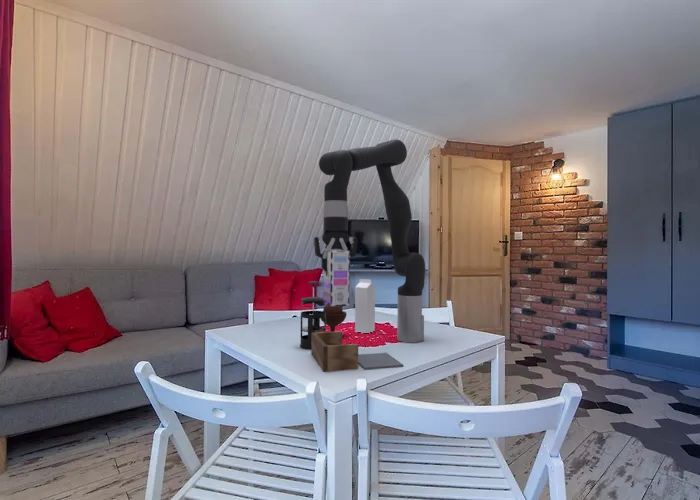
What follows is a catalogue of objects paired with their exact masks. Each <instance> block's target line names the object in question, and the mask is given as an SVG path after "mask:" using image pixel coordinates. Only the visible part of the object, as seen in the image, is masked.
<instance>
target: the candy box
mask: <svg viewBox="0 0 700 500" xmlns="http://www.w3.org/2000/svg"><path fill="white" fill-rule="evenodd" d="M349 253H350V250H348V251H343V250H341V249H331V250H330V251H328V255H327V257H326V259H327V271H324V270H323V269H322V270H323V273H322V274H323V279H322V281H323V298H324V302H325V304H326V305H327V304H329V305H330V306H343V307H350V268H349Z"/></svg>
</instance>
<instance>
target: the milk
mask: <svg viewBox="0 0 700 500" xmlns="http://www.w3.org/2000/svg"><path fill="white" fill-rule="evenodd" d="M358 281H359V282H358V283H357V285H356V286H355V290H354V295H355V299H354V303H355V304H354V307H355V308H354V311H355V312H354V332H355V333H357V332H361V333H360V334H363V333H369V334H371V333H370V332H372V333H374V332H373V331H375V332H376V330H375V329H376V328H375V327H376V325H375V324H376V323H375V322H376V286H375V285H374V284H373V283H372V280H371V279H367V278H366V279H365V278H359V280H358Z"/></svg>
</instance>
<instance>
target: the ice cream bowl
mask: <svg viewBox="0 0 700 500" xmlns="http://www.w3.org/2000/svg"><path fill="white" fill-rule="evenodd" d="M343 307H344V306H330V305H329V304H327V303H326V304H325V305H324V307H323V310H322V311H324V312H326V326H328V327H329V328H330V329H329V330H330V331H329V332H334V331H336V327H337V326H339V325H340V324H342V323H343V322H344V321H345V319H346V317H347V312H346V311H343ZM320 321H321V322H322V323H323V324H324V323H325V317H324V318H320Z"/></svg>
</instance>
